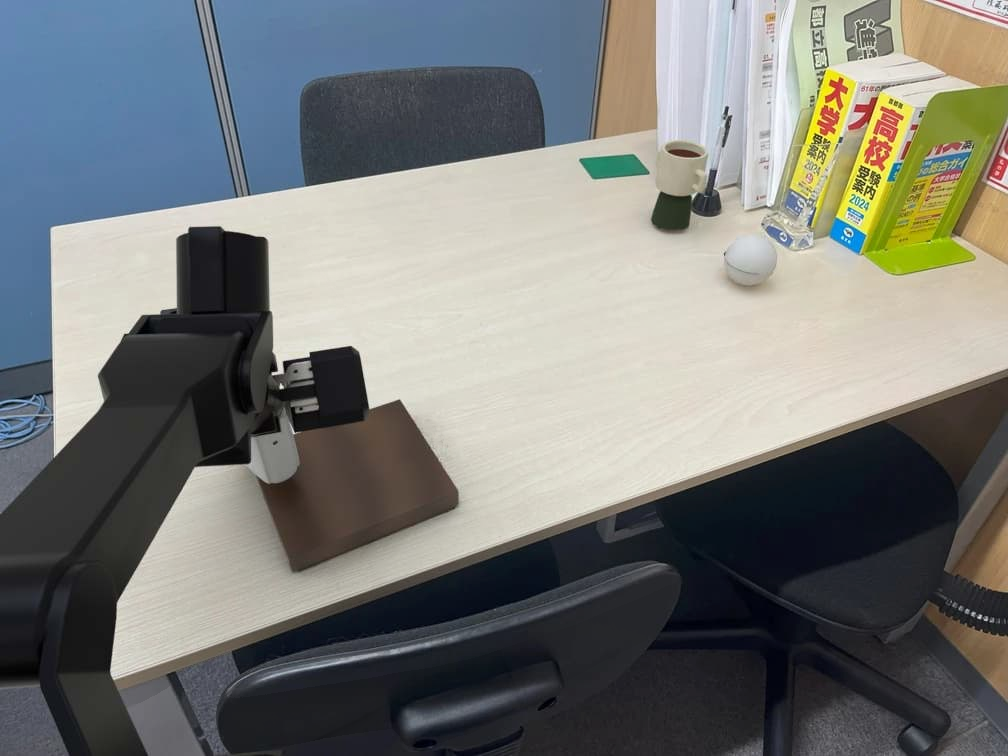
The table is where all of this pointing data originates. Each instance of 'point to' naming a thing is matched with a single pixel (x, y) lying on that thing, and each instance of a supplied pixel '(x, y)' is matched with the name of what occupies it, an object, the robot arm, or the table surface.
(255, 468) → the photo printer
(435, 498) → the walnut stand
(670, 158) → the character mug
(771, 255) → the seamed sphere
